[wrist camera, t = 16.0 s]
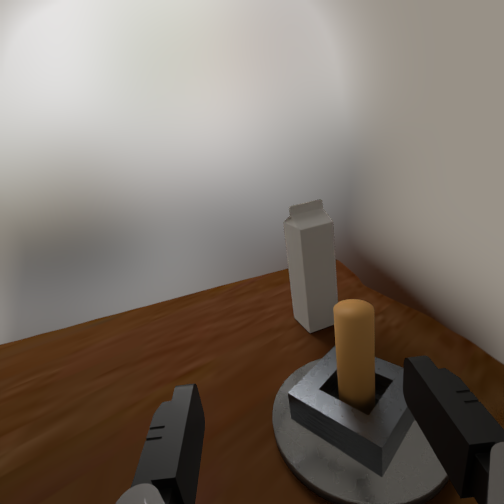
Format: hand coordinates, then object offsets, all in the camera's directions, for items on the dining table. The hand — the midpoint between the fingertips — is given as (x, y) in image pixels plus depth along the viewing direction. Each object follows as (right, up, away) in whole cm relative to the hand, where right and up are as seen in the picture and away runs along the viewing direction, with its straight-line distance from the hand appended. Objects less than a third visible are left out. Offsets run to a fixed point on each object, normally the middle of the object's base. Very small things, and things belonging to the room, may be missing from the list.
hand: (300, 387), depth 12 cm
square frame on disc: (+11, -15, +26) cm, 32 cm away
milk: (+10, -7, +47) cm, 48 cm away
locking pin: (+11, -14, +26) cm, 31 cm away
